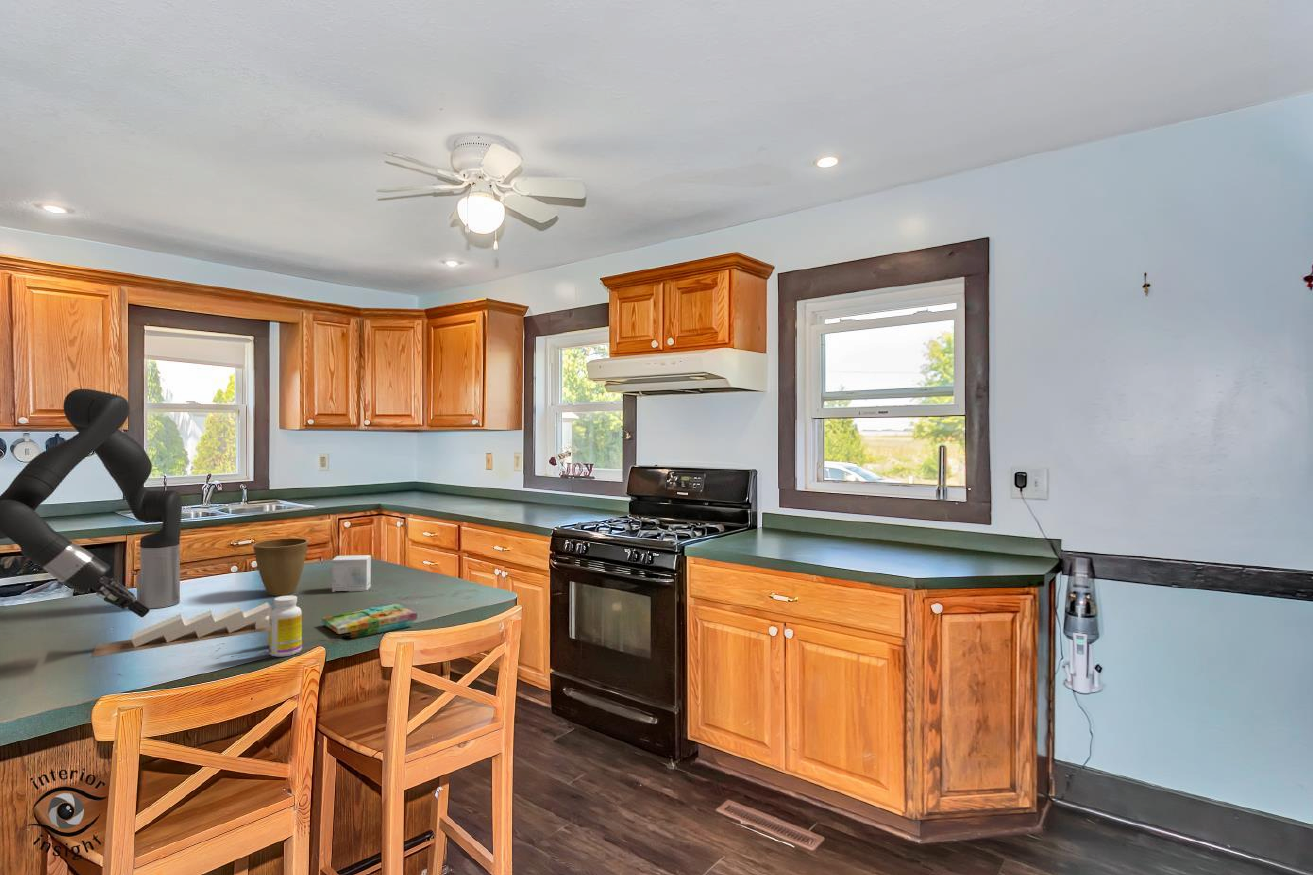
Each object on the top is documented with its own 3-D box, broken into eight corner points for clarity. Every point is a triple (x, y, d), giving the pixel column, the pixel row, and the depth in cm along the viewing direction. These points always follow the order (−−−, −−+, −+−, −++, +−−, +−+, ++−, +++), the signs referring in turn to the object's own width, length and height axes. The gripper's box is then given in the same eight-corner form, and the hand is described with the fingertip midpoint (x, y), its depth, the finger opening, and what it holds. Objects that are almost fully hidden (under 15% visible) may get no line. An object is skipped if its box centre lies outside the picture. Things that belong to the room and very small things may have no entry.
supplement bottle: (308, 650, 157) (308, 595, 157) (284, 659, 151) (284, 602, 151) (286, 646, 159) (286, 593, 159) (262, 655, 153) (262, 600, 153)
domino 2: (163, 635, 156) (211, 614, 162) (163, 629, 160) (210, 609, 166) (167, 642, 156) (215, 621, 162) (166, 637, 160) (213, 617, 166)
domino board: (91, 663, 147) (91, 657, 146) (95, 651, 155) (95, 644, 155) (278, 634, 168) (278, 628, 168) (273, 624, 176) (273, 619, 176)
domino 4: (226, 626, 163) (270, 606, 169) (224, 621, 167) (267, 602, 173) (229, 633, 164) (273, 613, 169) (227, 628, 168) (270, 608, 173)
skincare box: (331, 592, 210) (331, 559, 209) (336, 587, 216) (336, 555, 216) (366, 591, 212) (366, 558, 211) (371, 586, 218) (371, 554, 218)
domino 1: (131, 639, 152) (181, 618, 158) (131, 634, 156) (181, 613, 162) (134, 647, 153) (185, 625, 158) (135, 641, 157) (184, 620, 162)
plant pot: (267, 587, 214) (266, 538, 214) (315, 587, 216) (315, 537, 216) (243, 599, 200) (243, 546, 199) (295, 599, 201) (295, 546, 201)
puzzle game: (416, 609, 176) (337, 625, 162) (416, 627, 176) (337, 644, 162) (398, 601, 184) (321, 614, 171) (398, 617, 185) (321, 632, 171)
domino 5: (255, 621, 167) (300, 614, 173) (253, 616, 171) (297, 610, 177) (255, 629, 167) (300, 622, 173) (253, 624, 171) (297, 617, 177)
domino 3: (195, 630, 160) (241, 610, 165) (194, 625, 164) (239, 606, 169) (198, 637, 160) (244, 617, 166) (197, 632, 164) (242, 613, 170)
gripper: (90, 559, 145) (160, 606, 152) (94, 549, 155) (160, 594, 163) (57, 587, 142) (131, 634, 149) (64, 575, 152) (133, 619, 160)
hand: (146, 613), depth 156 cm, fingers closed
